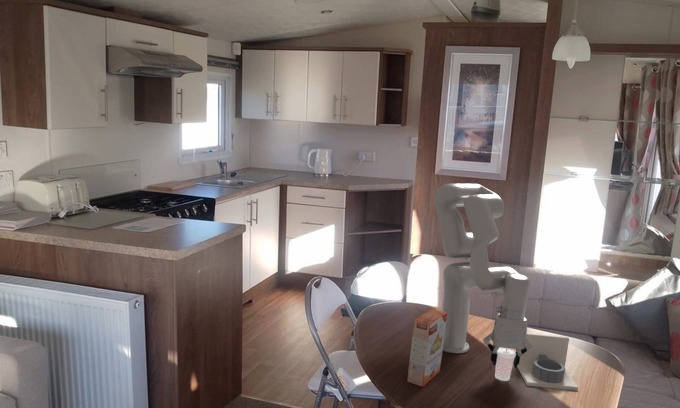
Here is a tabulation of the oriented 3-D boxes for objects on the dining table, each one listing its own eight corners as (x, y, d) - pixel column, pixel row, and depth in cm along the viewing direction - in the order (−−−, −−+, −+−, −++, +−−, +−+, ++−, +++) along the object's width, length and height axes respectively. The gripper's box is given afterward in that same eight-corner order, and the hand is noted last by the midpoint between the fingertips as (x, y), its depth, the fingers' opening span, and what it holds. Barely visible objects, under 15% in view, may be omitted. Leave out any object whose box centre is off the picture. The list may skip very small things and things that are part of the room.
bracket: (527, 385, 186) (532, 350, 183) (516, 364, 200) (520, 332, 198) (577, 390, 185) (583, 355, 183) (563, 369, 199) (568, 336, 197)
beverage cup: (497, 370, 192) (503, 331, 190) (514, 377, 189) (521, 337, 186) (489, 376, 188) (495, 336, 185) (507, 384, 184) (513, 343, 181)
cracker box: (424, 388, 178) (430, 324, 175) (406, 382, 181) (412, 319, 178) (441, 372, 190) (448, 312, 187) (424, 367, 193) (430, 307, 190)
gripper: (487, 314, 180) (479, 367, 184) (543, 320, 179) (534, 373, 183) (483, 305, 188) (475, 356, 191) (536, 311, 187) (528, 362, 190)
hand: (504, 364), depth 187 cm, fingers closed on beverage cup, 6 cm apart
